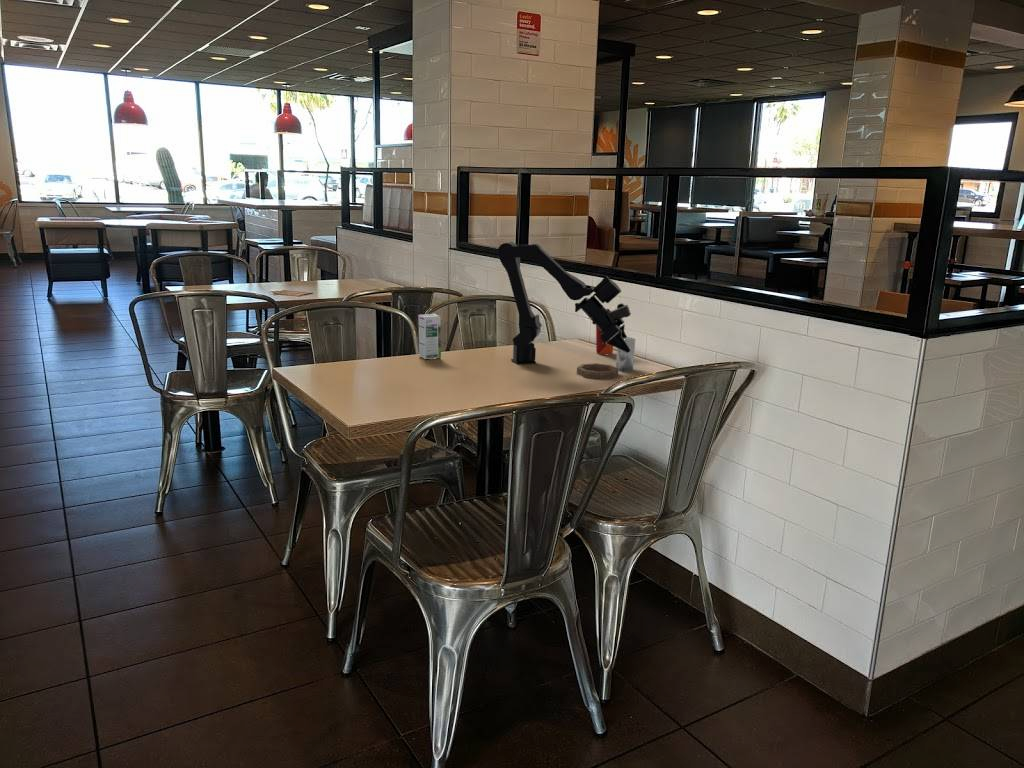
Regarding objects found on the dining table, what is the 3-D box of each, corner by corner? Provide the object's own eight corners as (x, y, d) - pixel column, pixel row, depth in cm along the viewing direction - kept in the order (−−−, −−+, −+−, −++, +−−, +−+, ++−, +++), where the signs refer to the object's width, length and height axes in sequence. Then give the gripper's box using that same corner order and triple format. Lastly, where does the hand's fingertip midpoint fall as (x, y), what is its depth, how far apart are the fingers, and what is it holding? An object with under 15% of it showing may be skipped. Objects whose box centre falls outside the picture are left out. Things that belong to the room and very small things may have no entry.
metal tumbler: (621, 371, 241) (623, 340, 239) (612, 368, 246) (614, 337, 244) (636, 370, 243) (638, 340, 240) (627, 367, 248) (629, 336, 245)
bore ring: (588, 379, 230) (588, 373, 229) (571, 371, 241) (572, 364, 240) (623, 377, 234) (624, 370, 233) (605, 368, 245) (605, 362, 244)
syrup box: (425, 360, 251) (424, 316, 247) (418, 356, 256) (418, 313, 252) (441, 359, 253) (441, 315, 250) (434, 355, 258) (434, 313, 255)
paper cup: (608, 356, 263) (610, 316, 260) (589, 353, 268) (591, 313, 264) (619, 353, 269) (621, 313, 266) (600, 350, 274) (602, 311, 270)
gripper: (613, 299, 231) (647, 338, 231) (619, 292, 248) (651, 328, 249) (586, 324, 234) (620, 361, 235) (593, 315, 252) (625, 350, 252)
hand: (630, 349), depth 243 cm, fingers open, 7 cm apart
